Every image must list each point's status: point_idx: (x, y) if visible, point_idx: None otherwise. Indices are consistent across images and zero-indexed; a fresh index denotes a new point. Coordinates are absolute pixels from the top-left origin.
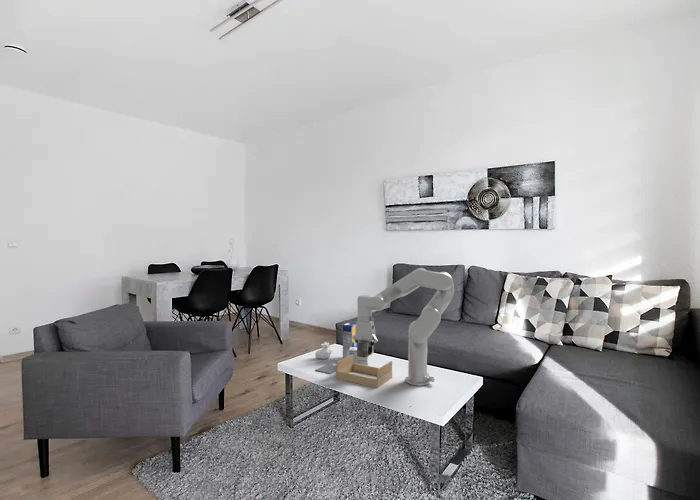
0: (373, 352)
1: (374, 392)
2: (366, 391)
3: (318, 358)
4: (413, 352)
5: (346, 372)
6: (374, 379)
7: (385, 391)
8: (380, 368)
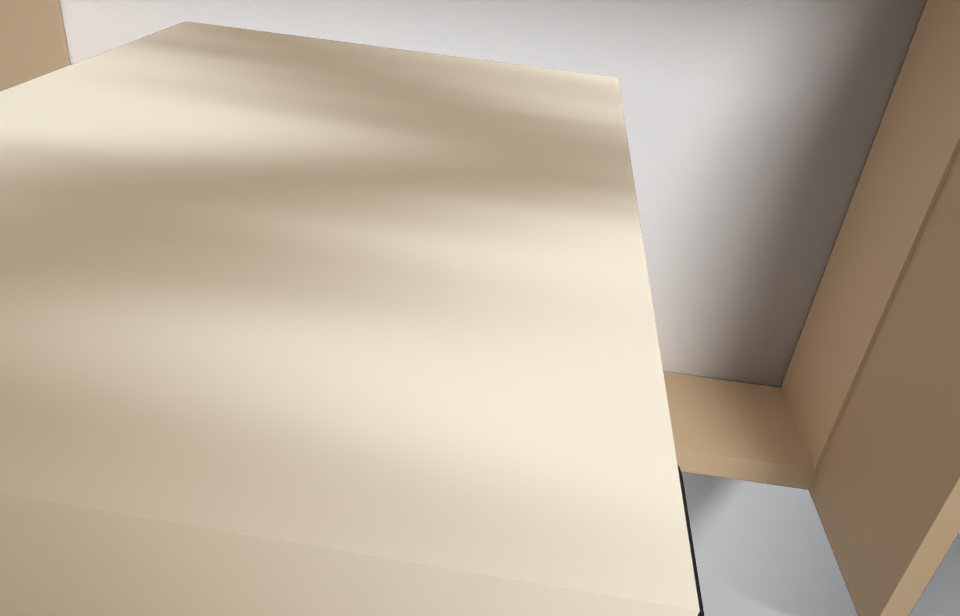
0: (619, 93)
1: (776, 539)
2: None
3: None
4: None
5: (52, 52)
6: (762, 478)
7: None
8: (938, 561)
